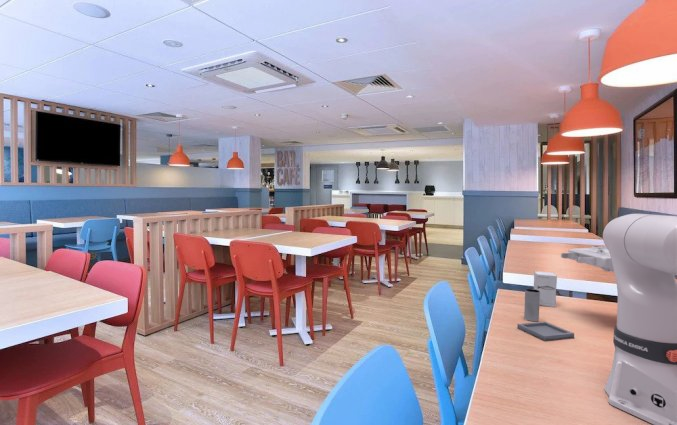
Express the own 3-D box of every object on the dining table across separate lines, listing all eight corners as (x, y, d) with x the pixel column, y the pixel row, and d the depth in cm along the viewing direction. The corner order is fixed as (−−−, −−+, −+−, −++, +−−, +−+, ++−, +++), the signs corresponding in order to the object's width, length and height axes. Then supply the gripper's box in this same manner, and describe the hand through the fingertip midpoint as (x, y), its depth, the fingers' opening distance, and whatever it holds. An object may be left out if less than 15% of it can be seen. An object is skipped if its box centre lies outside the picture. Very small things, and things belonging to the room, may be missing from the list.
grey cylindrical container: (540, 322, 126) (541, 292, 126) (526, 321, 127) (527, 291, 127) (536, 318, 131) (537, 289, 130) (522, 317, 132) (523, 288, 131)
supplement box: (534, 305, 147) (535, 273, 146) (532, 300, 153) (534, 270, 153) (556, 307, 144) (557, 275, 143) (553, 302, 150) (554, 272, 150)
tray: (574, 338, 112) (574, 333, 112) (544, 341, 109) (544, 336, 109) (545, 325, 122) (545, 321, 122) (517, 328, 120) (517, 323, 120)
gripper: (633, 273, 116) (588, 272, 117) (592, 262, 137) (553, 261, 138) (634, 254, 116) (588, 253, 117) (592, 245, 137) (554, 245, 137)
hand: (569, 257), depth 127 cm, fingers open, 8 cm apart
